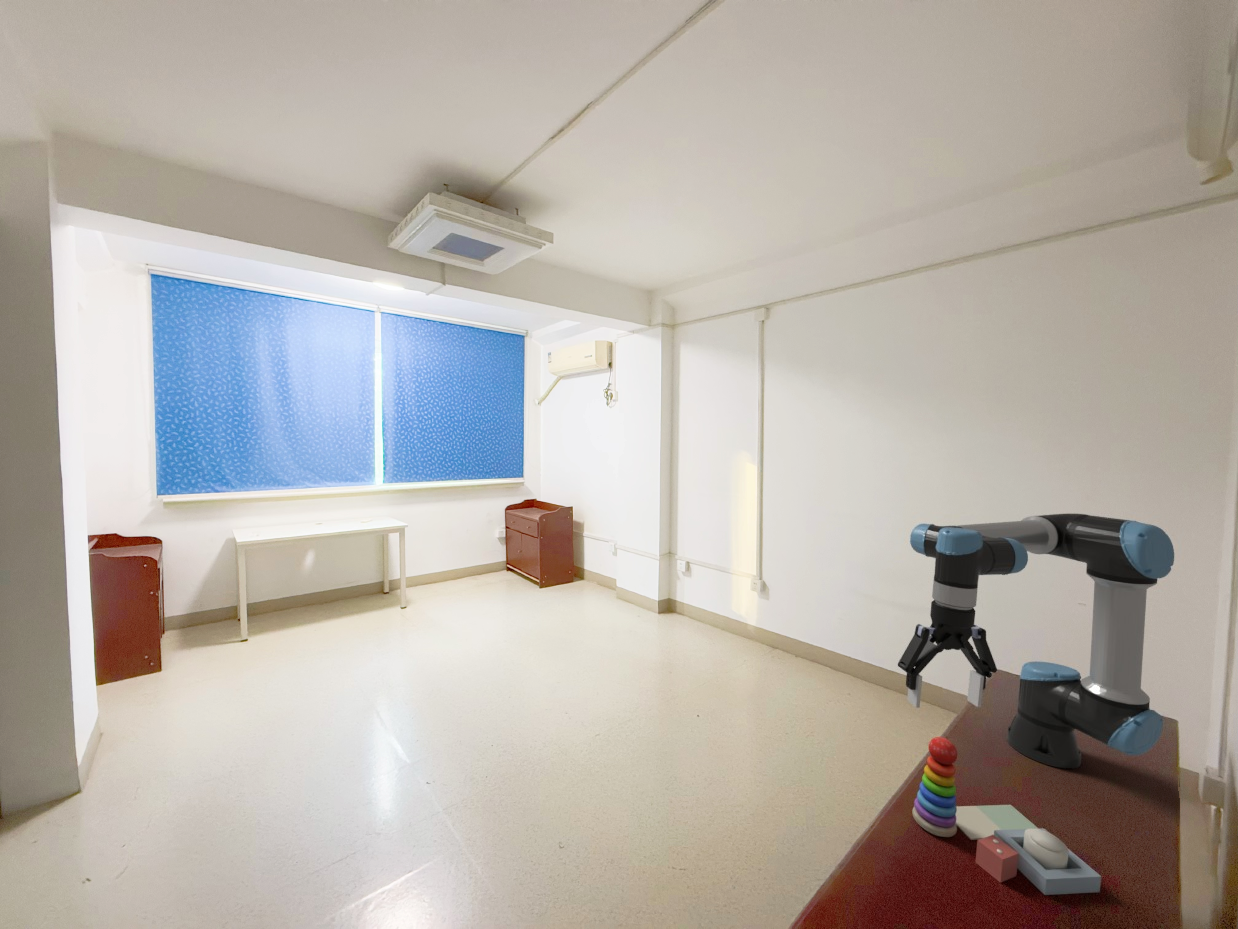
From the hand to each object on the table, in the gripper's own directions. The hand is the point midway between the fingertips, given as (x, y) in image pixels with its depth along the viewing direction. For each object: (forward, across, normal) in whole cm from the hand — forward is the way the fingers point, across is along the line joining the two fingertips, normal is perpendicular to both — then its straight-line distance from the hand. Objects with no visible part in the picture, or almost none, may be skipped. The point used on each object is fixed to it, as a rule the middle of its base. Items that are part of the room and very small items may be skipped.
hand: (943, 704), depth 103 cm
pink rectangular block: (+26, -4, +11) cm, 29 cm away
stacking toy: (+26, 0, 0) cm, 27 cm away
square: (+26, -9, 0) cm, 28 cm away
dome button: (+25, -14, +11) cm, 31 cm away
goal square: (+26, -18, 0) cm, 32 cm away
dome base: (+26, -14, +11) cm, 32 cm away
